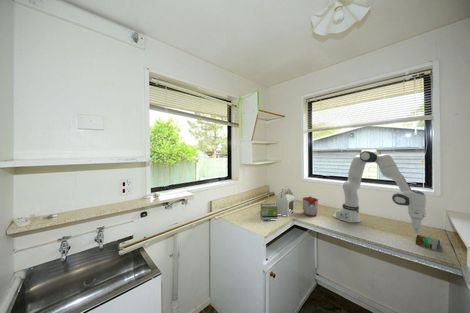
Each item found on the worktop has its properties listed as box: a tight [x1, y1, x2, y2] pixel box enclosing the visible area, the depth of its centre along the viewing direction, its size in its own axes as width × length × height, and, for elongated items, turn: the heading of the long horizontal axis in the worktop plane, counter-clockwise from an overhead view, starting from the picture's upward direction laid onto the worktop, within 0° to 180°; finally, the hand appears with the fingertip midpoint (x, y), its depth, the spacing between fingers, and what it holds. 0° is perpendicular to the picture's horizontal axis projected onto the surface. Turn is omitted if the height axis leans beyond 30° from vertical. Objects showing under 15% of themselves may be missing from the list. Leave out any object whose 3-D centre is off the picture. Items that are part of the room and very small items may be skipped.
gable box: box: [275, 186, 296, 217], centre depth 188 cm, size 22×13×28 cm, turn 143°
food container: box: [415, 234, 441, 252], centre depth 120 cm, size 12×6×10 cm
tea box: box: [260, 202, 278, 221], centre depth 172 cm, size 15×10×15 cm, turn 91°
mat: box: [419, 242, 443, 253], centre depth 120 cm, size 10×16×1 cm, turn 131°
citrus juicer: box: [301, 195, 319, 217], centre depth 180 cm, size 16×17×20 cm
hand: (416, 231), depth 125 cm, fingers open, 8 cm apart
